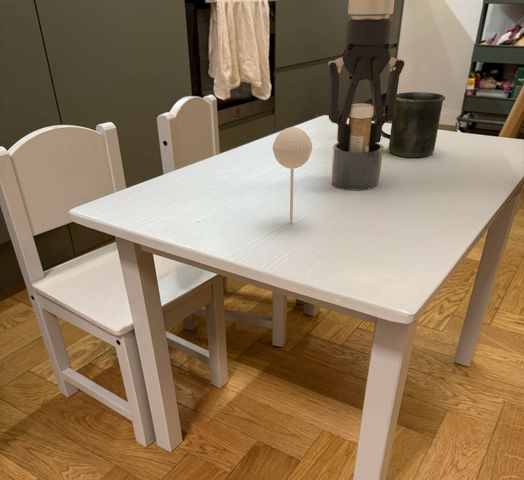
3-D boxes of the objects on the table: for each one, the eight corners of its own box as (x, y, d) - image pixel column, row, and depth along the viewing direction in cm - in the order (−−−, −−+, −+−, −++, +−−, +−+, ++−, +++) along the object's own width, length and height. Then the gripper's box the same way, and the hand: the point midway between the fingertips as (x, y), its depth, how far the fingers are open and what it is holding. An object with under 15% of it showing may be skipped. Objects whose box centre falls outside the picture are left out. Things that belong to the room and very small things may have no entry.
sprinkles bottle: (371, 179, 99) (379, 105, 91) (353, 183, 97) (360, 108, 89) (356, 173, 102) (362, 101, 94) (338, 177, 100) (344, 104, 93)
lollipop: (287, 233, 80) (288, 134, 71) (265, 222, 84) (264, 127, 75) (316, 224, 83) (321, 128, 74) (294, 214, 87) (296, 121, 78)
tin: (372, 174, 104) (376, 139, 100) (384, 189, 97) (388, 151, 93) (327, 176, 104) (329, 141, 100) (335, 191, 96) (338, 153, 92)
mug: (436, 159, 112) (447, 101, 105) (371, 157, 115) (377, 99, 108) (434, 147, 121) (444, 92, 114) (373, 145, 124) (378, 91, 116)
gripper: (414, 15, 87) (395, 153, 101) (315, 17, 87) (310, 156, 100) (428, 17, 81) (406, 164, 95) (321, 19, 81) (315, 167, 94)
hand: (356, 160), depth 98 cm, fingers open, 4 cm apart
